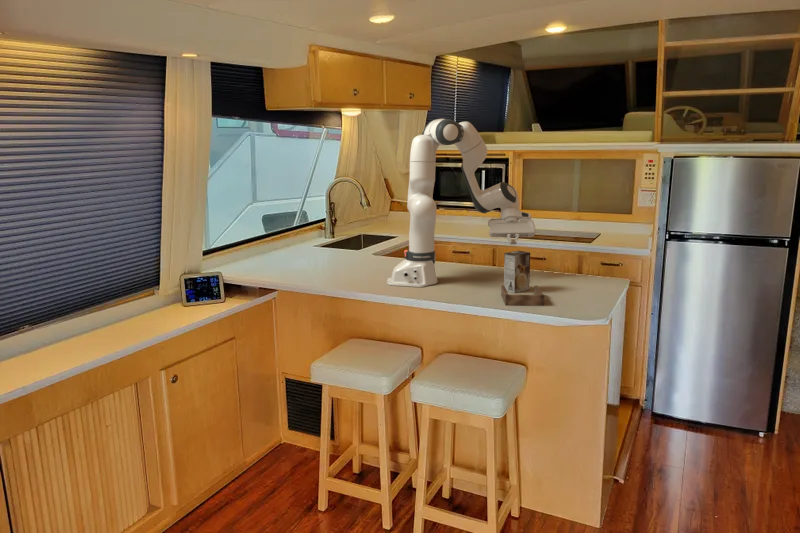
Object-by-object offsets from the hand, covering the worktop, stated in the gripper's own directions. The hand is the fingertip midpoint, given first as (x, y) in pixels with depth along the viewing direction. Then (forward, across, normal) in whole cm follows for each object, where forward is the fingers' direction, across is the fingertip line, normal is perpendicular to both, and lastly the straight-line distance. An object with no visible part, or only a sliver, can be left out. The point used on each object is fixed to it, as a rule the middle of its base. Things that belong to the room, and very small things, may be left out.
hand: (513, 243), depth 257 cm
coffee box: (+23, 0, +1) cm, 23 cm away
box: (+34, 0, -10) cm, 35 cm away
